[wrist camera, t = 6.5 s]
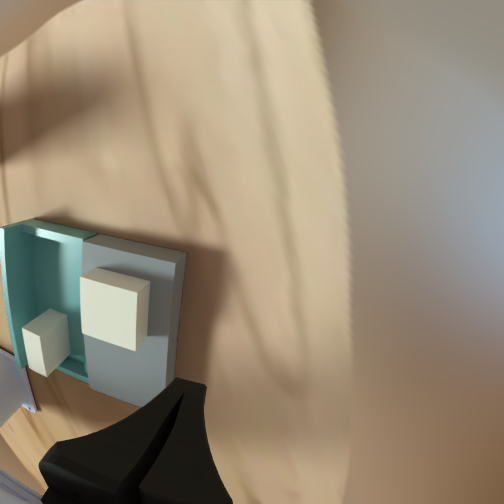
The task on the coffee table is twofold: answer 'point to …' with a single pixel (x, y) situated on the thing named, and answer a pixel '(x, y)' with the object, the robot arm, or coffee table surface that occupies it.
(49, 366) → the tile
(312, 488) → the coffee table surface
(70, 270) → the box
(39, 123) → the coffee table surface
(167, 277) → the grey flat block
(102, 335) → the tile
